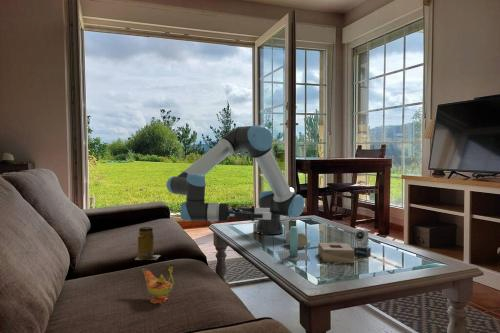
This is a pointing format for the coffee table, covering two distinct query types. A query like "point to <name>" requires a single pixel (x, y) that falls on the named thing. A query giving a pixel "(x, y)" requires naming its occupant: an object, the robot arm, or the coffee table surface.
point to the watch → (362, 243)
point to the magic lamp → (158, 285)
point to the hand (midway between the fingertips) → (270, 213)
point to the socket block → (336, 252)
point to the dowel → (293, 241)
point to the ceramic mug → (301, 239)
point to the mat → (287, 257)
